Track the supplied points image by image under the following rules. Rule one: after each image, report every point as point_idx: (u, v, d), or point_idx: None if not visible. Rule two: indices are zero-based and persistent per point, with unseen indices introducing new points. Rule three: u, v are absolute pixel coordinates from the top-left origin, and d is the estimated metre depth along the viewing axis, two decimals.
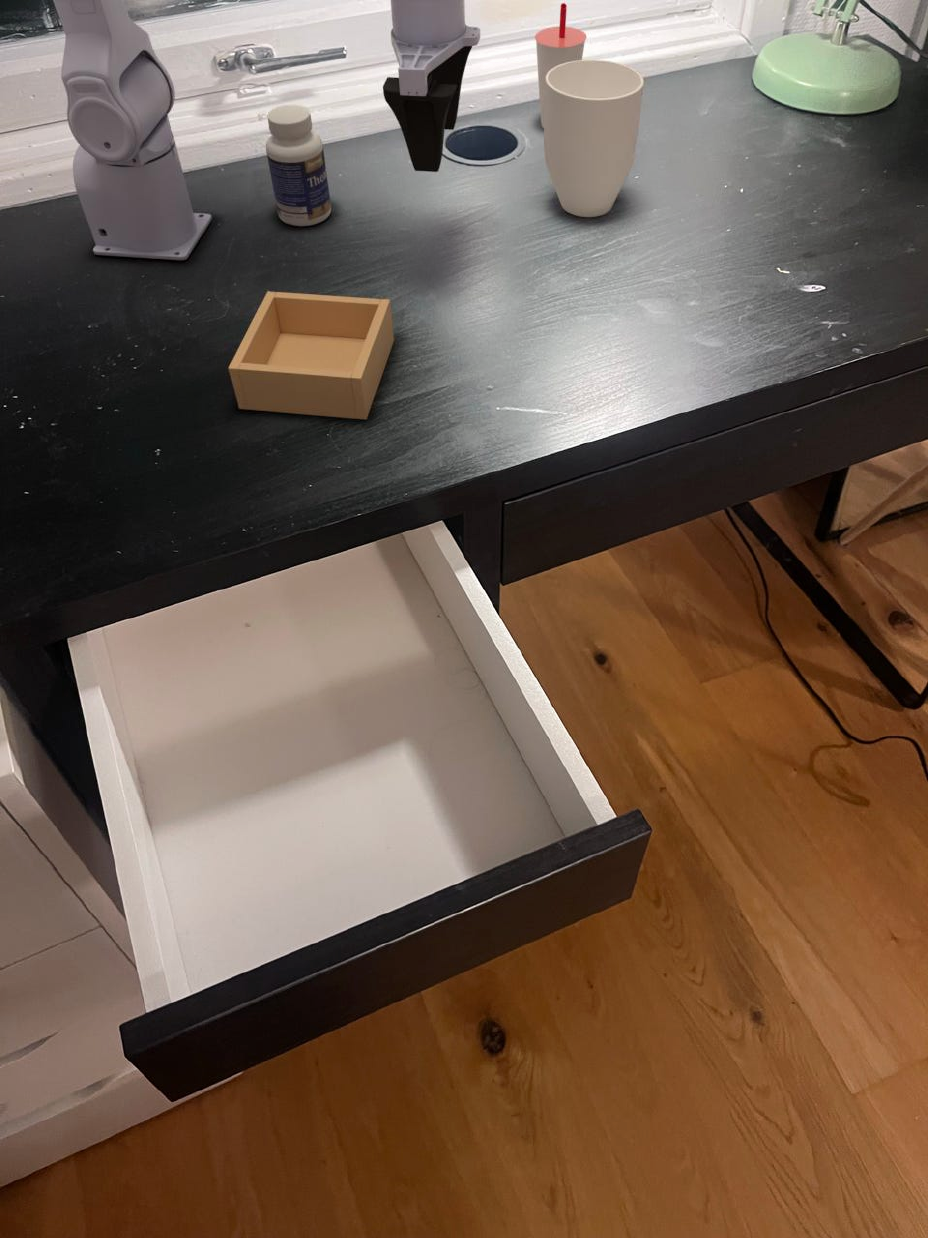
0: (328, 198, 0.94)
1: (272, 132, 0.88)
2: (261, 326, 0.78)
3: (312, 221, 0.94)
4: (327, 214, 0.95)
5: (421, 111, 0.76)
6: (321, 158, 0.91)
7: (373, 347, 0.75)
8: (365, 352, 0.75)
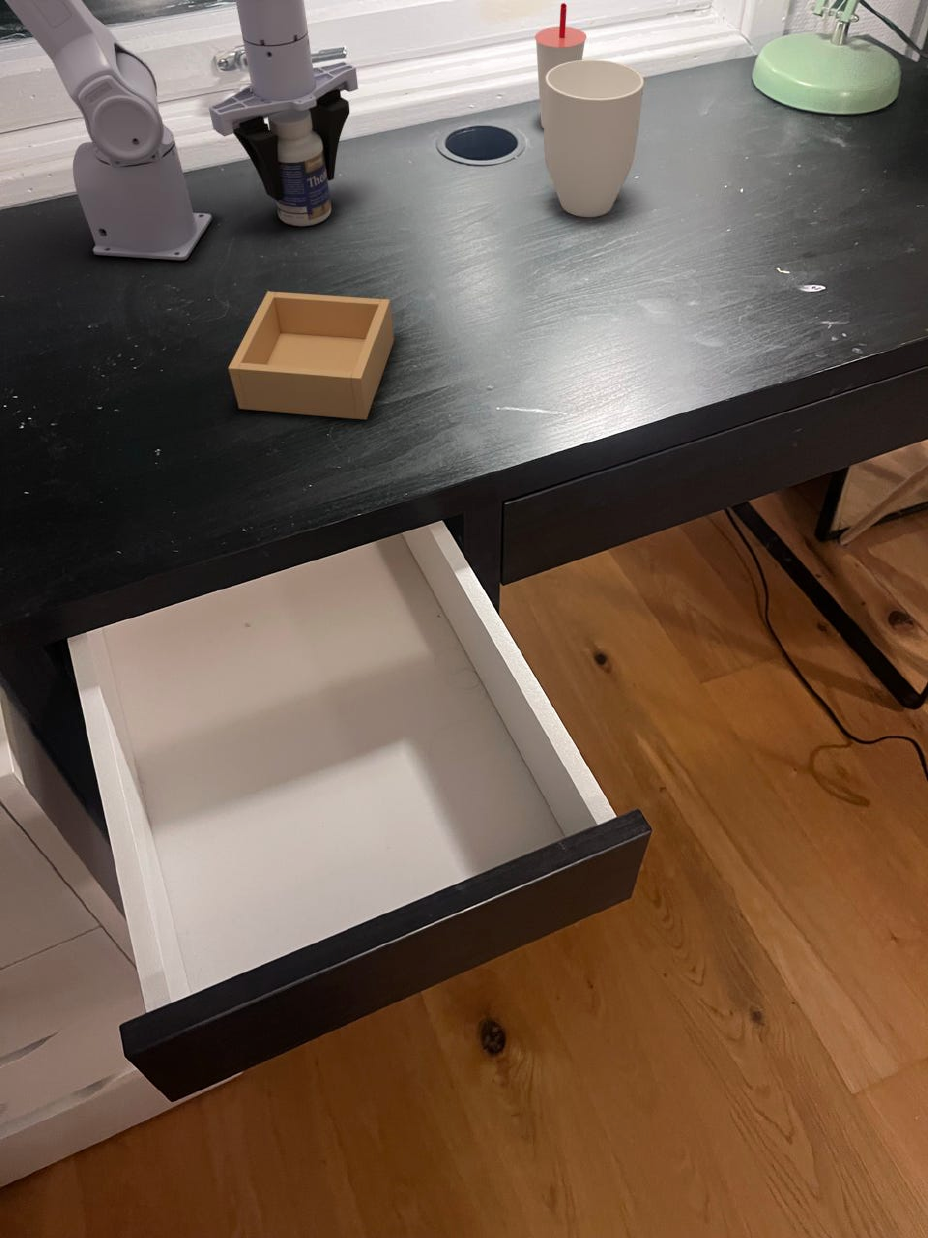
0: (328, 198, 0.94)
1: None
2: (261, 326, 0.78)
3: (312, 221, 0.94)
4: (327, 214, 0.95)
5: None
6: (321, 158, 0.91)
7: (373, 347, 0.75)
8: (365, 352, 0.75)
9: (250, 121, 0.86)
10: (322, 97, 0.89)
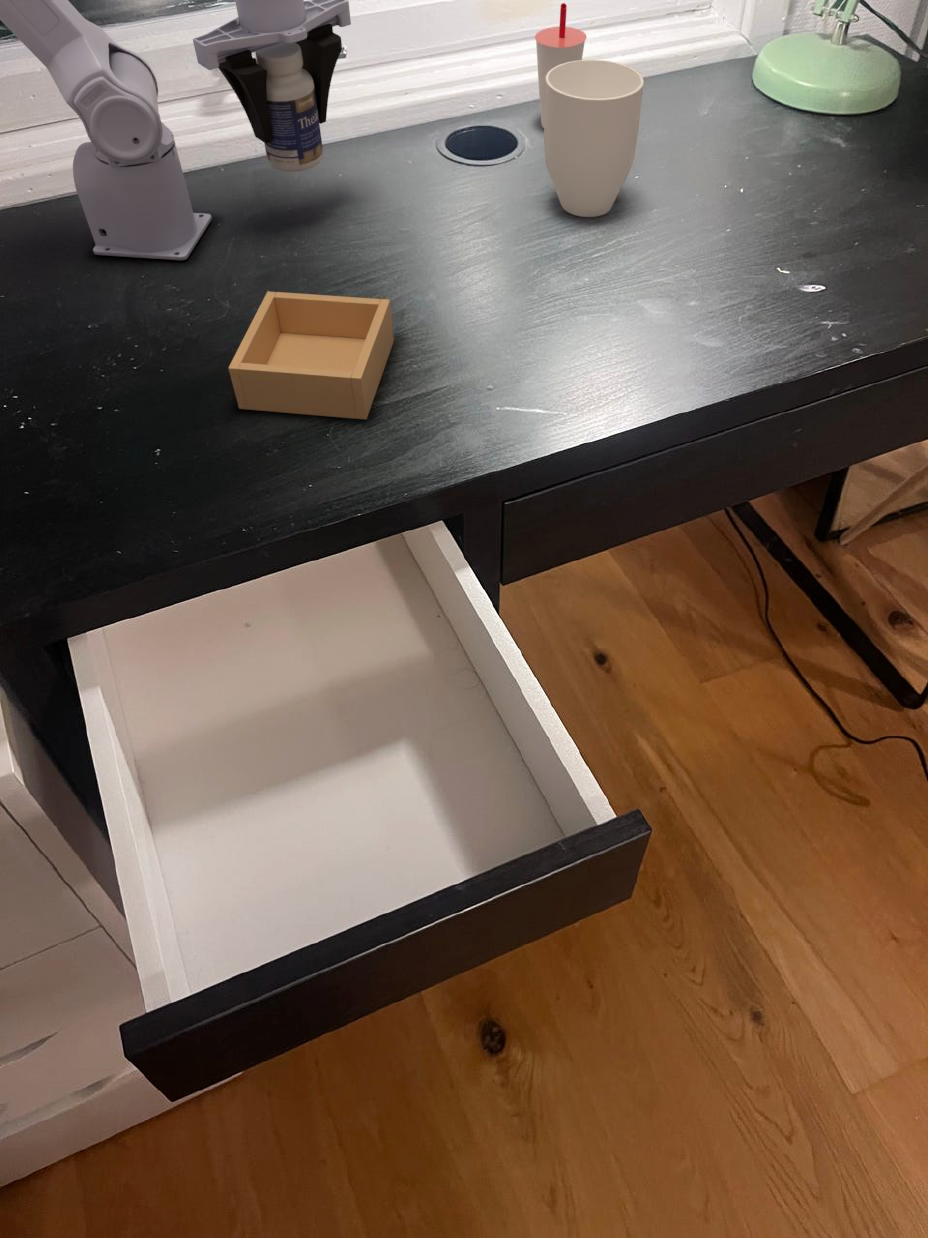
0: (320, 142, 0.90)
1: None
2: (261, 326, 0.78)
3: (303, 166, 0.89)
4: (319, 159, 0.90)
5: None
6: (312, 98, 0.86)
7: (373, 347, 0.75)
8: (365, 352, 0.75)
9: (237, 55, 0.81)
10: (313, 32, 0.84)
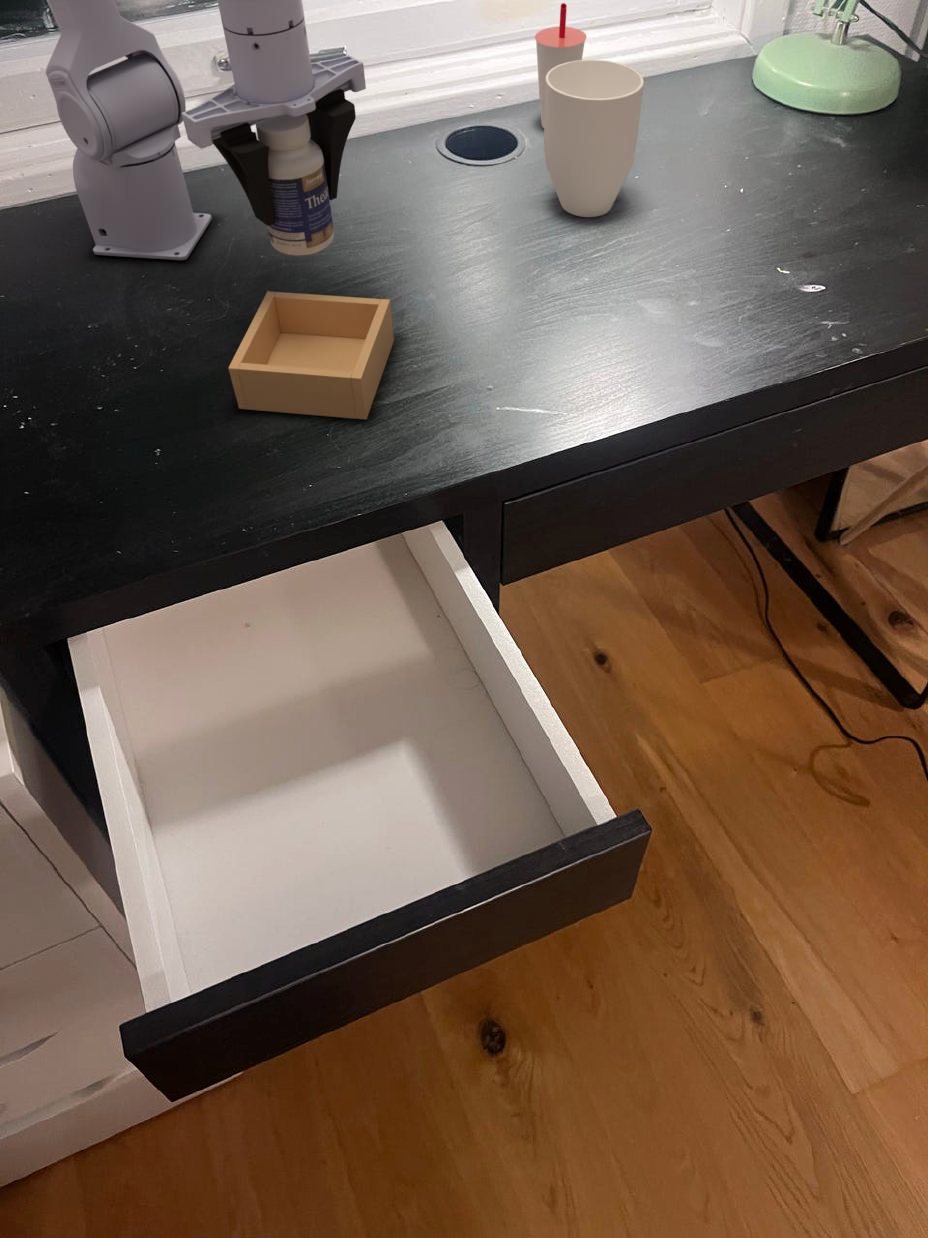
0: (330, 221, 0.78)
1: None
2: (261, 326, 0.78)
3: (311, 249, 0.78)
4: (329, 241, 0.78)
5: None
6: (322, 174, 0.74)
7: (373, 347, 0.75)
8: (365, 352, 0.75)
9: (233, 129, 0.69)
10: (323, 100, 0.72)
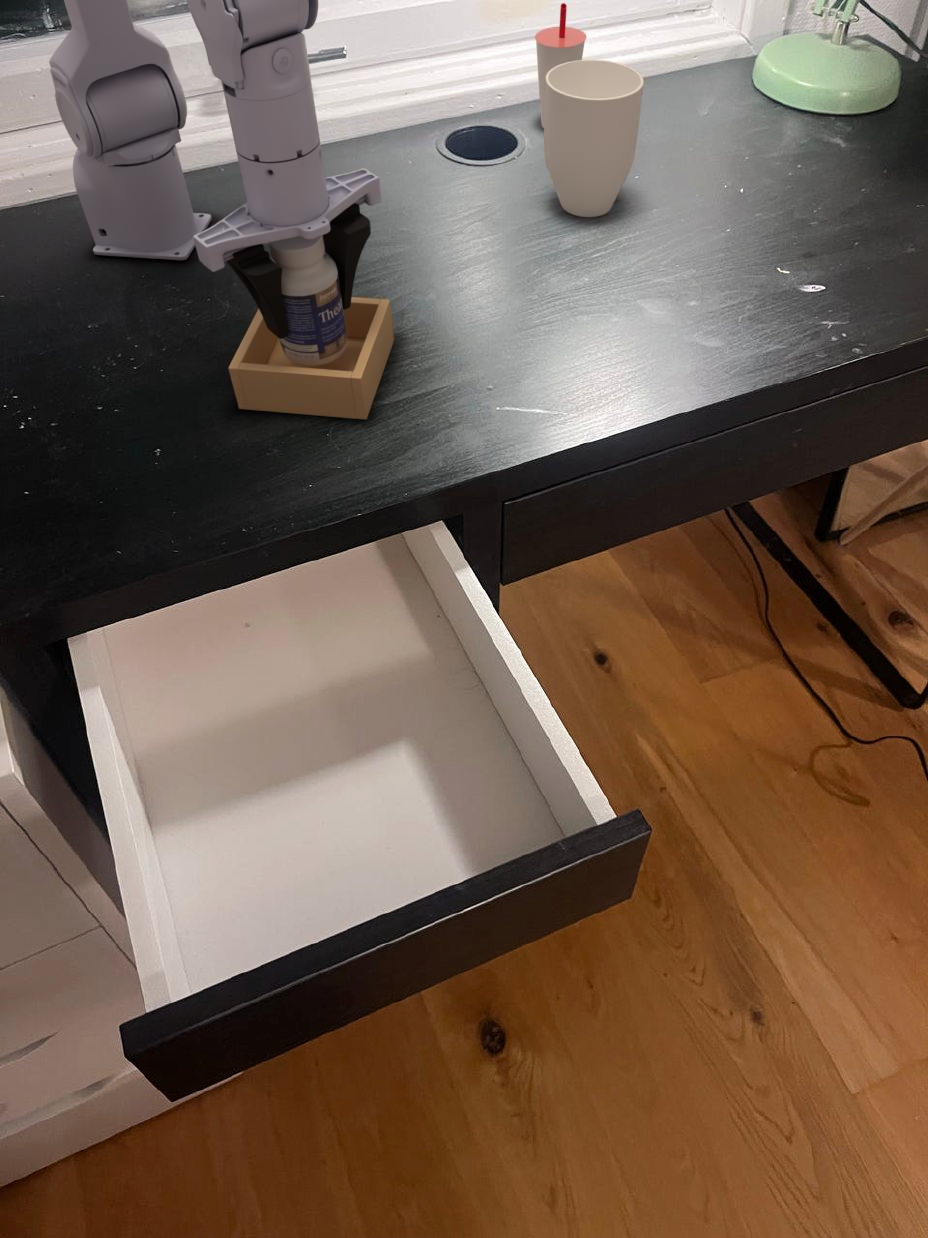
0: (344, 331, 0.76)
1: (274, 259, 0.70)
2: (261, 326, 0.78)
3: (324, 360, 0.76)
4: (342, 350, 0.77)
5: None
6: (336, 288, 0.73)
7: (373, 347, 0.75)
8: (365, 352, 0.75)
9: (246, 251, 0.68)
10: (337, 215, 0.70)
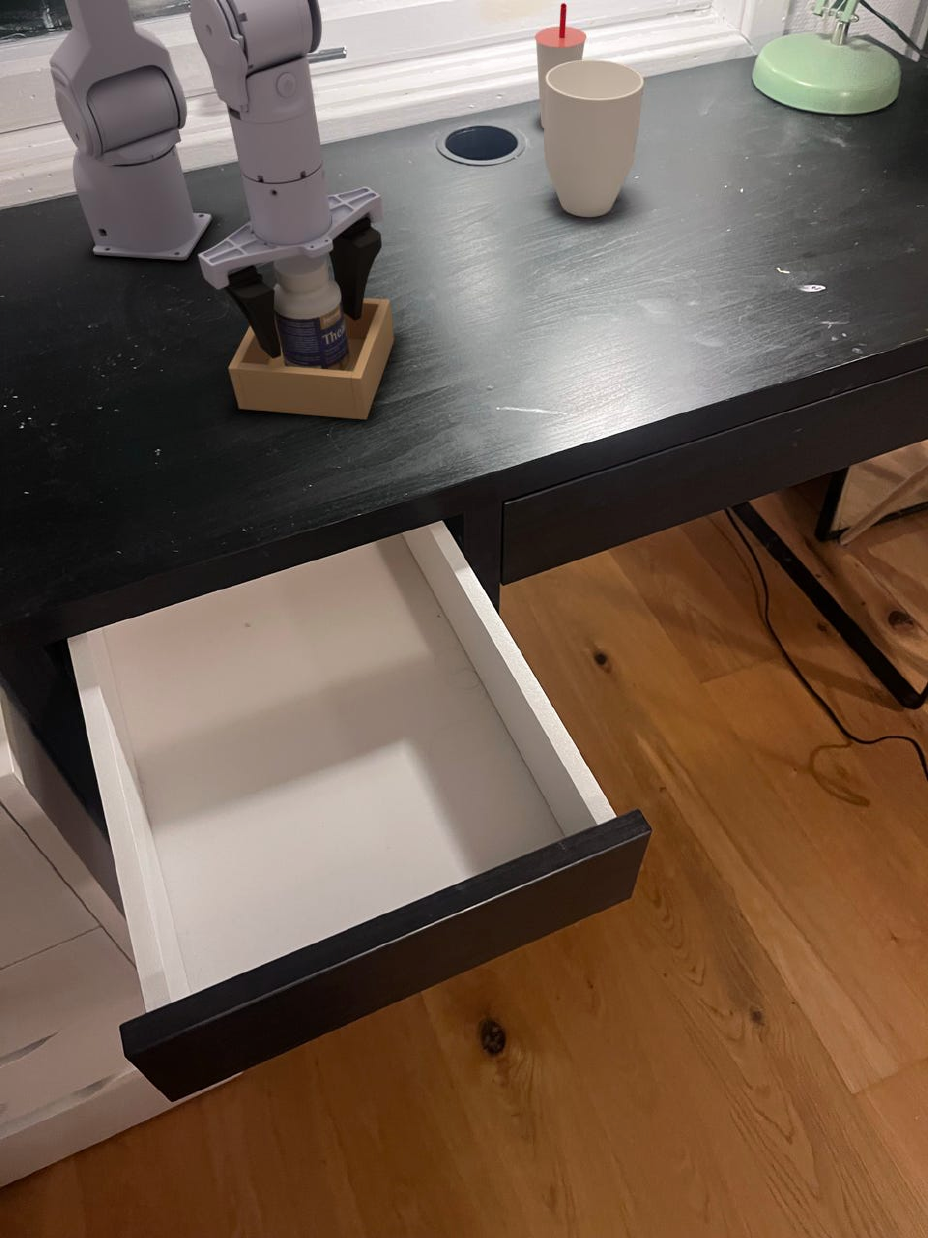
0: (347, 352, 0.78)
1: (279, 283, 0.72)
2: None
3: None
4: None
5: None
6: (339, 311, 0.74)
7: (373, 347, 0.75)
8: (365, 352, 0.75)
9: (250, 268, 0.69)
10: (349, 229, 0.72)
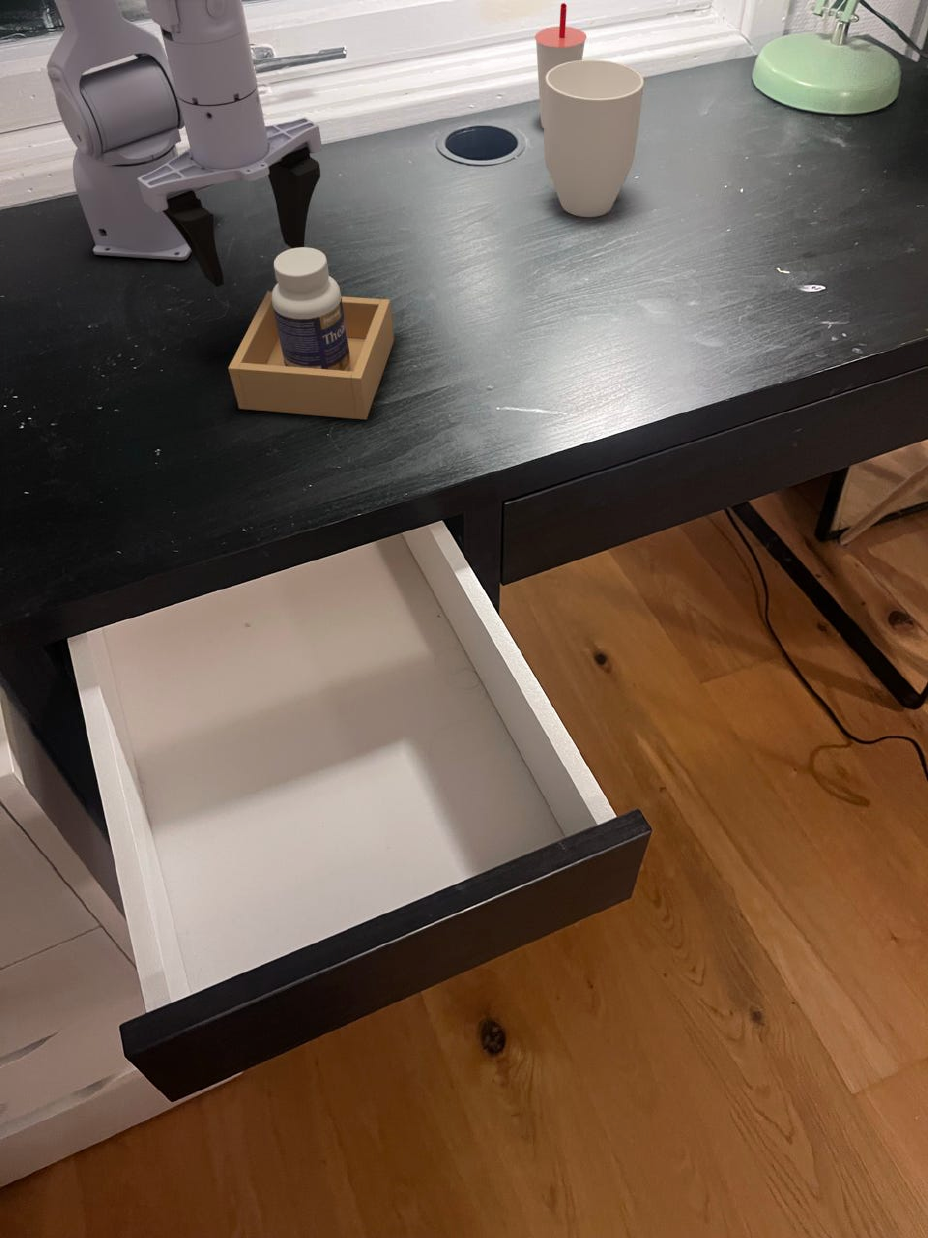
0: (347, 352, 0.78)
1: (279, 283, 0.72)
2: (261, 326, 0.78)
3: None
4: None
5: None
6: (339, 311, 0.74)
7: (373, 347, 0.75)
8: (365, 352, 0.75)
9: (189, 193, 0.71)
10: (288, 158, 0.74)
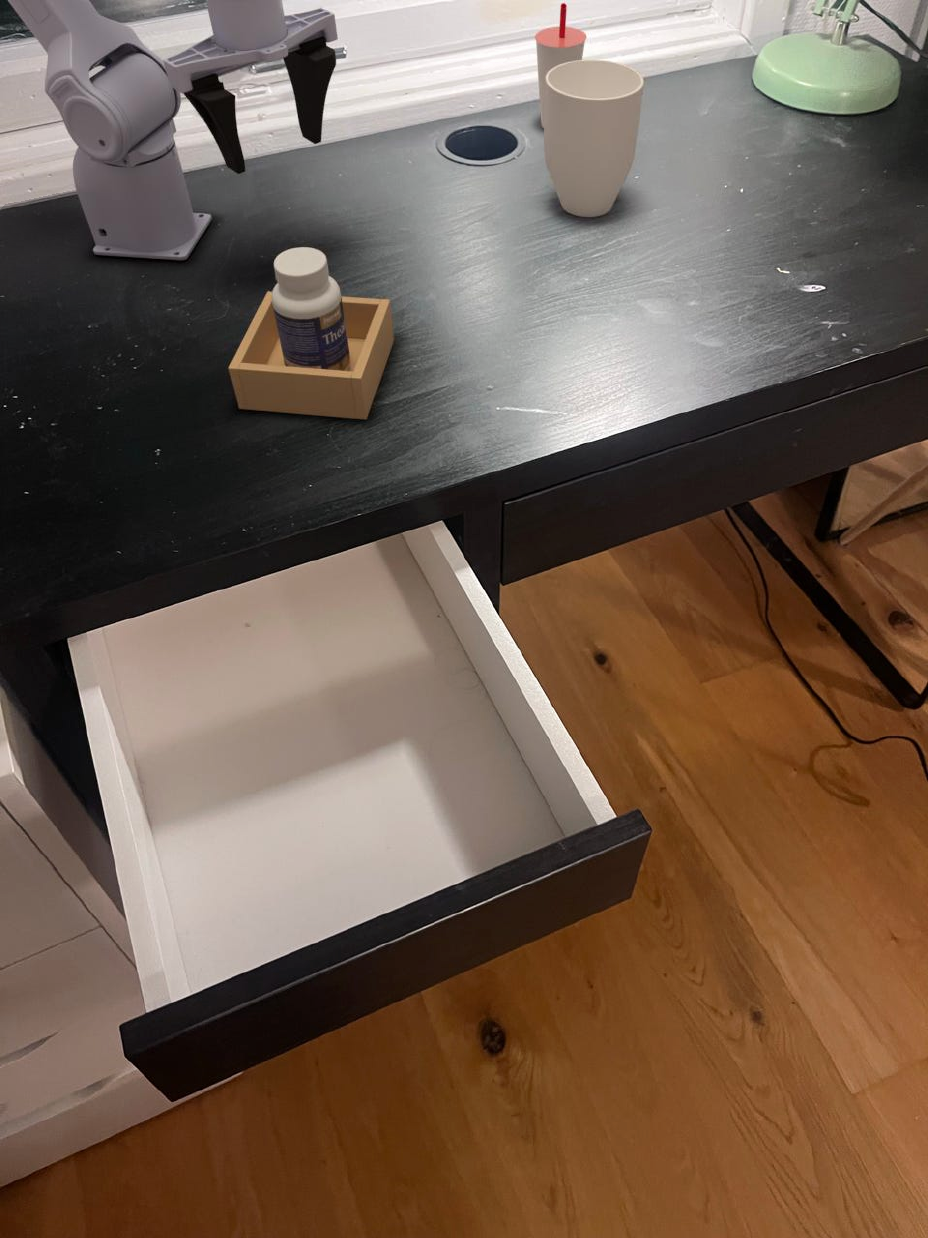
0: (347, 352, 0.78)
1: (279, 283, 0.72)
2: (261, 326, 0.78)
3: None
4: None
5: None
6: (339, 311, 0.74)
7: (373, 347, 0.75)
8: (365, 352, 0.75)
9: (212, 76, 0.74)
10: (305, 46, 0.77)
